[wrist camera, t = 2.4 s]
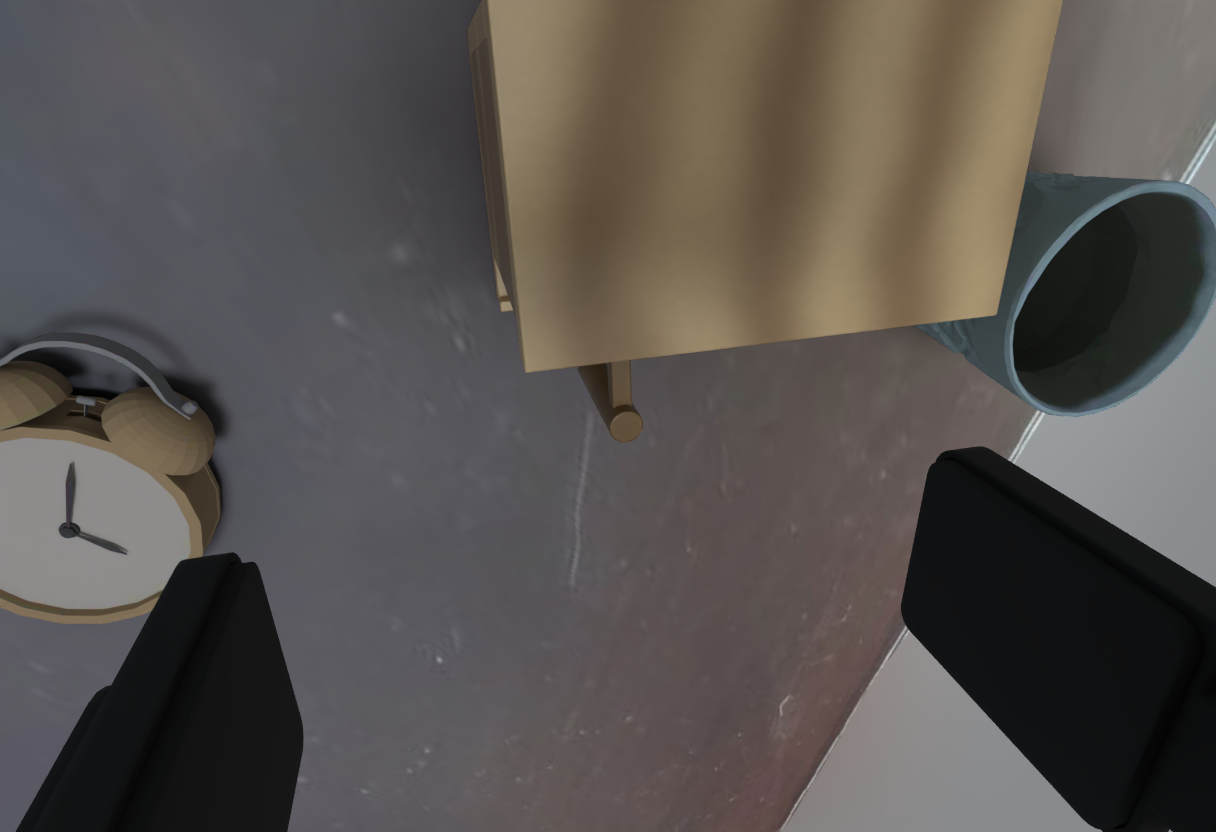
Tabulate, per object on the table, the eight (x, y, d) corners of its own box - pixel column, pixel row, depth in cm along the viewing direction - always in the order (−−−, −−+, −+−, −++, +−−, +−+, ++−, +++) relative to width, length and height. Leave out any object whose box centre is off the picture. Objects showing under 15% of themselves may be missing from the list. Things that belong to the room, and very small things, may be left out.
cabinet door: (682, 253, 34) (762, 305, 26) (681, 355, 36) (755, 432, 28) (512, 269, 32) (539, 330, 24) (523, 374, 35) (551, 462, 26)
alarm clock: (-82, 613, 32) (-132, 337, 24) (-20, 537, 36) (-48, 281, 28) (190, 640, 35) (216, 407, 28) (219, 568, 39) (248, 349, 32)
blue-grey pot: (1028, 145, 38) (1260, 166, 27) (999, 321, 42) (1188, 397, 32) (860, 168, 36) (1037, 199, 25) (848, 348, 41) (994, 438, 30)
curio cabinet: (847, 18, 33) (1068, -23, 21) (823, 265, 38) (992, 340, 26) (466, 30, 30) (485, -11, 18) (497, 299, 35) (527, 401, 23)
